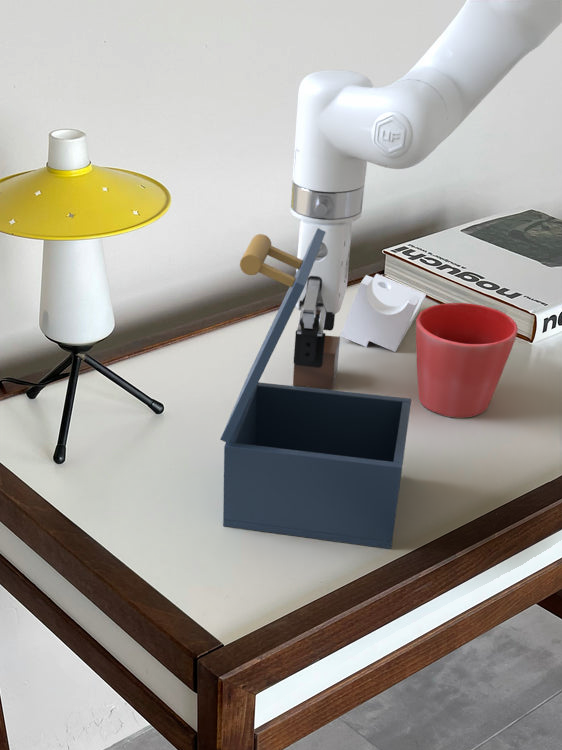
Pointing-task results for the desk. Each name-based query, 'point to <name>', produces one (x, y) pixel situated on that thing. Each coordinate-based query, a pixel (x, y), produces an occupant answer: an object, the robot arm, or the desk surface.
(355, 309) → the bracket
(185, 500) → the desk surface
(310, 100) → the robot arm
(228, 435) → the lid
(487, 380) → the flower pot
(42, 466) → the desk surface
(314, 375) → the block
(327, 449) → the chest
